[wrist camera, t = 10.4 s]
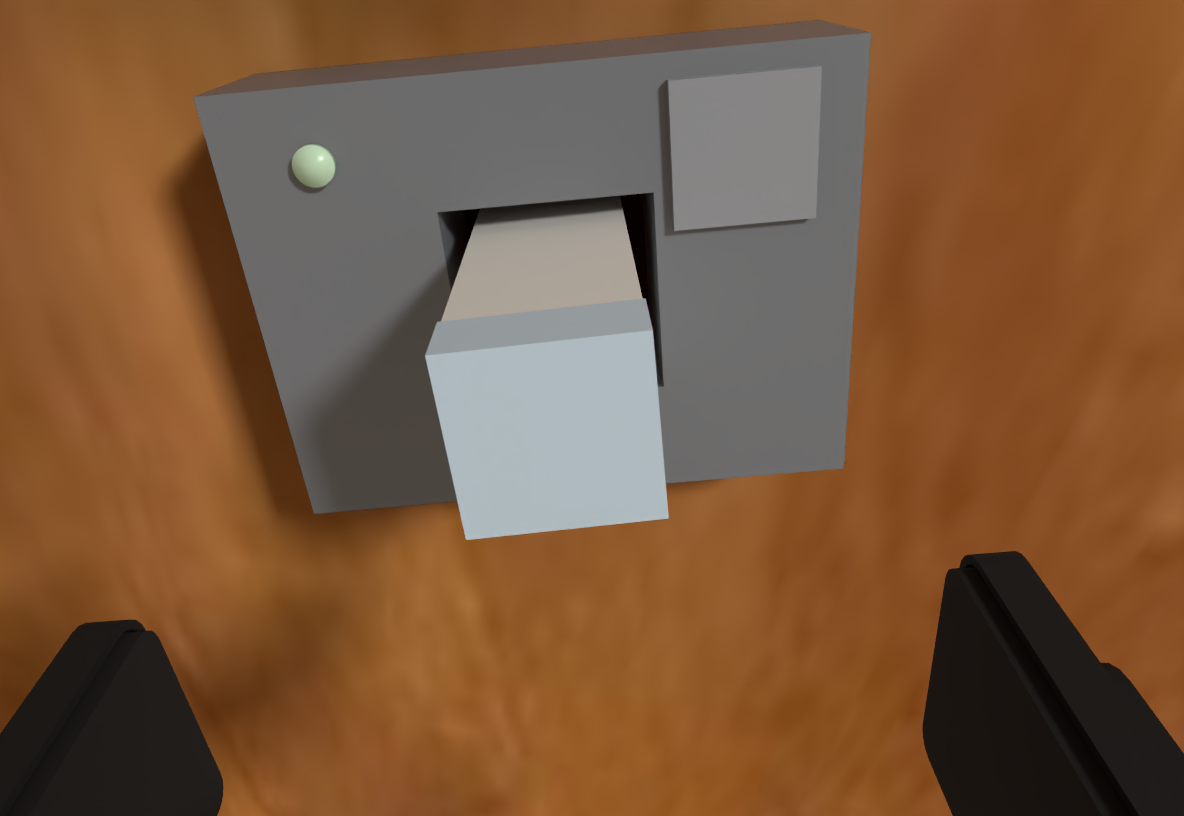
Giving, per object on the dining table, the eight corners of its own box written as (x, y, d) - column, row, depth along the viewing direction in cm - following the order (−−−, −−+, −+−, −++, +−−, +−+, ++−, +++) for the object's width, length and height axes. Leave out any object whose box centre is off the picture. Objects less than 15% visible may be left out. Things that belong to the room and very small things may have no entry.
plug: (617, 176, 26) (652, 330, 15) (629, 303, 28) (668, 518, 17) (483, 192, 26) (425, 355, 15) (504, 317, 28) (466, 539, 17)
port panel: (820, 20, 24) (874, 33, 20) (806, 399, 29) (846, 473, 25) (254, 73, 24) (188, 98, 20) (347, 439, 30) (311, 520, 25)
